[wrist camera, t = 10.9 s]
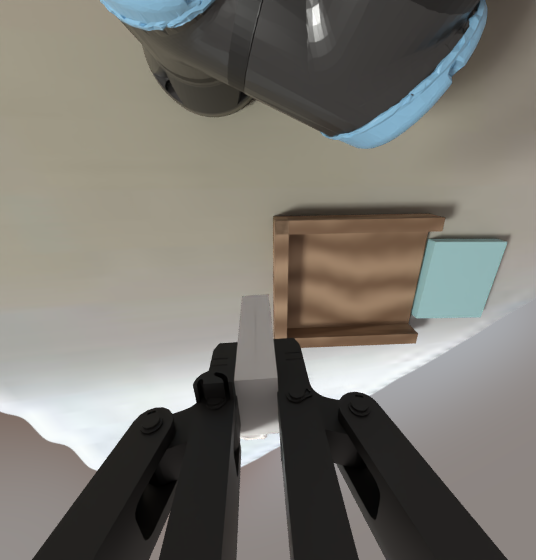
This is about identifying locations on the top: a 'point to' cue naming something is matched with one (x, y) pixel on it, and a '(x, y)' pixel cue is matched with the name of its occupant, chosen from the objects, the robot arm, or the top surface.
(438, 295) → the cover plate
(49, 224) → the top surface
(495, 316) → the top surface
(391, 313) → the walnut box
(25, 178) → the top surface
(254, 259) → the top surface
